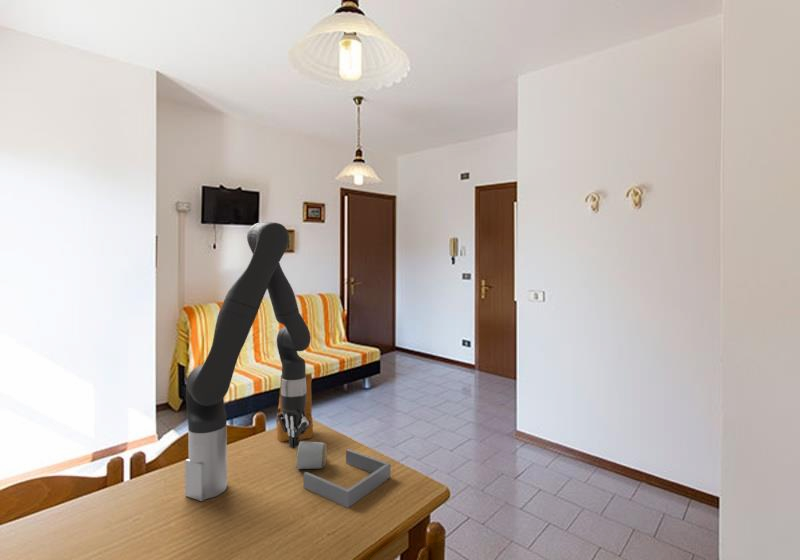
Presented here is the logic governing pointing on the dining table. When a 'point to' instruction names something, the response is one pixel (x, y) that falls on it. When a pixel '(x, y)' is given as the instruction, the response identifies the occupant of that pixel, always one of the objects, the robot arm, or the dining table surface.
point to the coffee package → (308, 433)
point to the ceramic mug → (311, 455)
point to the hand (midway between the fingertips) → (293, 447)
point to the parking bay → (357, 491)
